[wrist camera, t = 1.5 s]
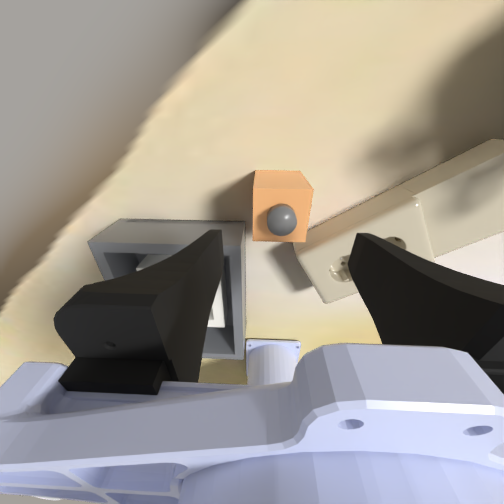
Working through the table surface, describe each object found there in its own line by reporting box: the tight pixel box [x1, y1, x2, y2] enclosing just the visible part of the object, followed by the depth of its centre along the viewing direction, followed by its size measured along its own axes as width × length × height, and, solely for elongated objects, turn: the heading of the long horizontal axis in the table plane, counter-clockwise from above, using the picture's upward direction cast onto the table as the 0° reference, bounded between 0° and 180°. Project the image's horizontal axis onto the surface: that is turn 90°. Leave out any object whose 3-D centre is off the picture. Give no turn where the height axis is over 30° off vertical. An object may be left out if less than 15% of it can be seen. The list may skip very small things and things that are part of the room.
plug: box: [253, 170, 314, 242], centre depth 17 cm, size 4×4×7 cm
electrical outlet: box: [293, 139, 504, 304], centre depth 20 cm, size 7×4×18 cm
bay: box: [88, 219, 246, 360], centre depth 24 cm, size 16×13×5 cm
